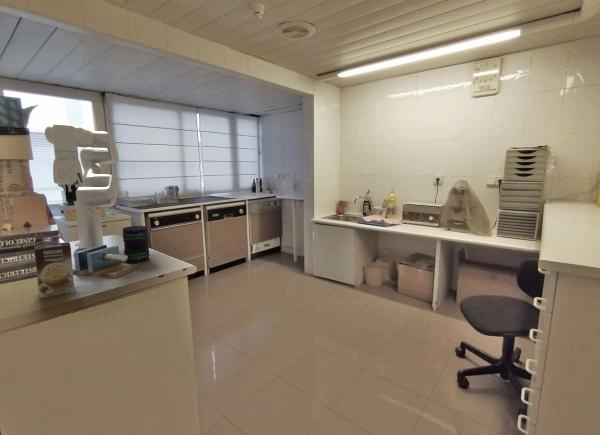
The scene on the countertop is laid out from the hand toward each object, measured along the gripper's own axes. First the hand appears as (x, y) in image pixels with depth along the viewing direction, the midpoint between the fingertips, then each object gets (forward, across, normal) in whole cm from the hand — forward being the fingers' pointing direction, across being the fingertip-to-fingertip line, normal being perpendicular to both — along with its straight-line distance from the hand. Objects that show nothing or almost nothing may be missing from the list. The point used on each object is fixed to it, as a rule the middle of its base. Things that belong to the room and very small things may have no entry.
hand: (71, 201), depth 122 cm
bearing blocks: (+26, +15, -4) cm, 30 cm away
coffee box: (+27, +21, -25) cm, 42 cm away
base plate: (+27, +18, -4) cm, 33 cm away
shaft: (+24, +17, -4) cm, 29 cm away
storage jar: (+27, +20, +11) cm, 36 cm away
